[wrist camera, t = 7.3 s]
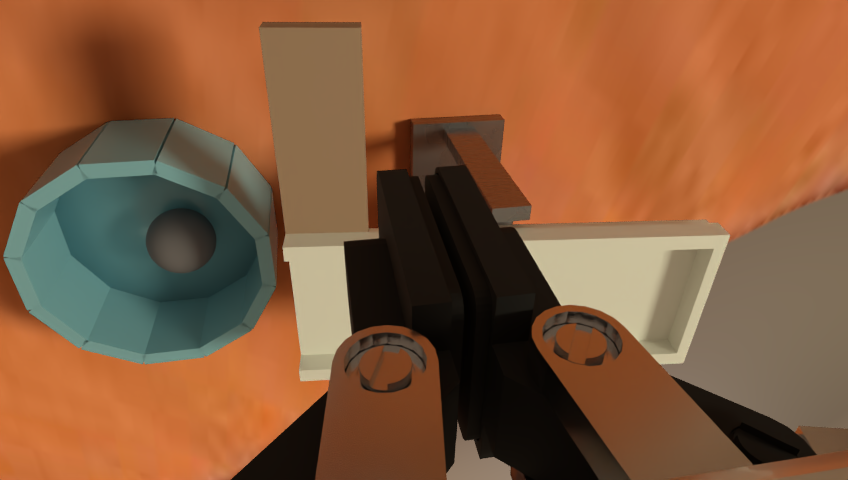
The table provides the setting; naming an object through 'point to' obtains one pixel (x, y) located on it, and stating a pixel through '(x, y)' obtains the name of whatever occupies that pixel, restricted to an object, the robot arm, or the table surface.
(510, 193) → the lever stand
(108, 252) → the teal round bowl
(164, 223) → the ball
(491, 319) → the robot arm
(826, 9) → the table surface
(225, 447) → the table surface
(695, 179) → the table surface
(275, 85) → the lever
